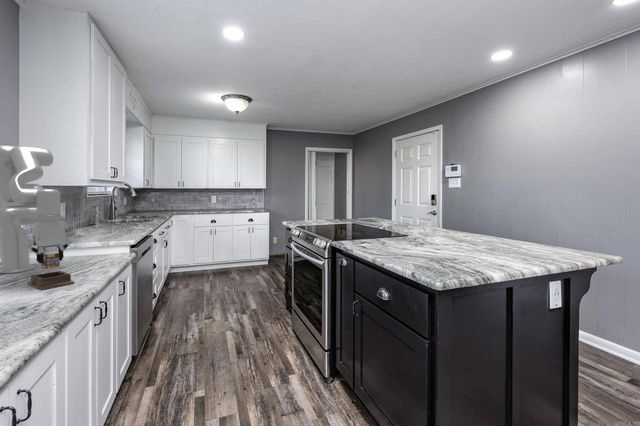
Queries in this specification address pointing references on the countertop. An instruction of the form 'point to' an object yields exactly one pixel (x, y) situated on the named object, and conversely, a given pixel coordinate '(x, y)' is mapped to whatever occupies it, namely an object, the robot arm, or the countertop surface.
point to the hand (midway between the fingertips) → (50, 261)
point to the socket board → (50, 280)
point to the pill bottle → (50, 258)
